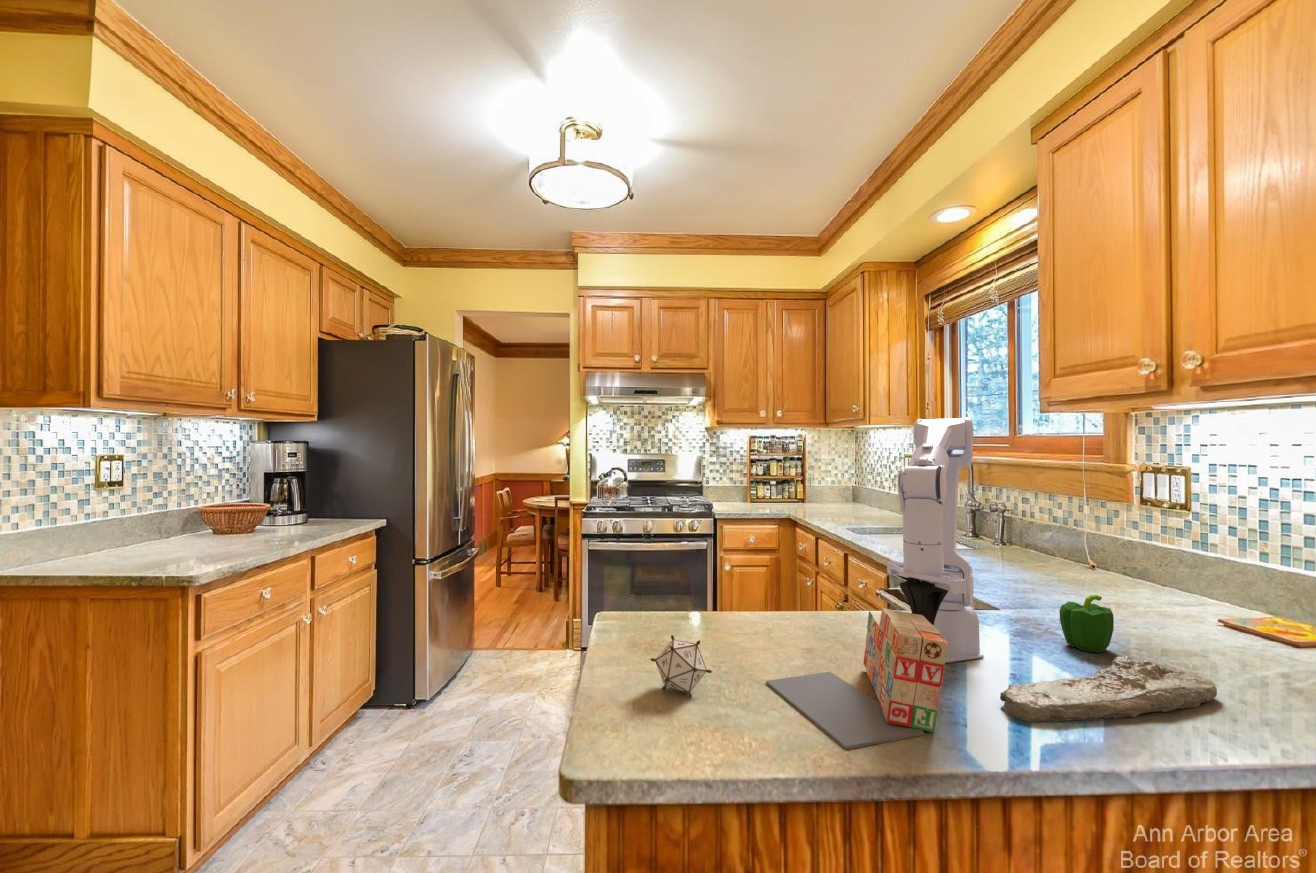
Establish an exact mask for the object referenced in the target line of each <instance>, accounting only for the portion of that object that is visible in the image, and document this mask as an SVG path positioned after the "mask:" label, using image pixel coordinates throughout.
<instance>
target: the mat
mask: <svg viewBox="0 0 1316 873" xmlns="http://www.w3.org/2000/svg"><path fill="white" fill-rule="evenodd" d="M765 683H766V685H767V686H768V687H769V688H771V689H772V690H773V691H774V692H776V693H777V694H778V695H780V696H781V697H782V698H783V699H784V700H786V702H787V703H790V704H791V706H793V707H794V708H795V709H796V710H798V711H799V712H800V713H801V714H802V715H804V716H805V717H806V718H807V719H809V721H811V722H812V723H813V724H815V725H816V727H818V728H819V729H820V730H822V731H823V732H824V733H825V734H826V735H828V736H829V737H830V738H832V740H834V741H835V742H836V743H837V744H839V745H840V746H841V747H842V748H844V750H846V751H847V750H851V749H856V748H862V747H867V746H873V745H878V744H883V743H888V742H893V741H897V740H898V741H899V740H904V739H909V738H914V737H919V736H920V737H921V736H924V735H925V732H924V731H925V730H921V729H917V728H913V727H907V726H903V725H898V724H894V723H889V722H887V721H886V719H885V717H884V714H883V711H882V709H881V706H880V704H879V701H877V700H876V699H873V698H872V697H871V696H869V695H867V694H866V693H864V692H863V691H861V690H859V689H858V688H857V687H855V686H854V685H852V684H850V683H848V682H847V681H846V680H844V679H842V678H841V677H839V676H838V675H836V674H834V673H833V672H831V671H826V672H818V673H811V674H805V675H804V674H803V675H798V676H797V675H796V676H791V677H783V678H776V679H770V680H765Z"/></svg>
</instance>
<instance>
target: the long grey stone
mask: <svg viewBox="0 0 1316 873" xmlns="http://www.w3.org/2000/svg"><path fill="white" fill-rule="evenodd" d="M999 695H1000V696H999V699H1000V701H1001V702H1003V710H1004V711H1005V712H1006V713H1007V714H1008V715H1011V717H1013V718H1015V719H1018V720H1022V721H1024V722H1028V723H1042V722H1051V721H1056V722H1062V721H1065V722H1067V721H1069V720H1070V721H1078V720H1079V721H1081V720H1088V721H1098V720H1099V719H1102V718H1103V719H1110V718H1112V719H1118V718H1127V717H1128V718H1129V717H1130V718H1136V717H1138V716H1139V715H1141V714H1145V713H1146V714H1147V713H1152V712H1153V713H1157V712H1161V713H1167V712H1173V711H1175V710H1177V709H1182V710H1183V709H1189V708H1198V707H1200V706H1201V704H1202V703H1204V704H1205V703H1208V702H1211V701H1212V700H1213V699H1214V698H1216V697H1217V695H1218V689H1217V686H1216V684H1215V683H1214V682H1213V681H1212V680H1210V679H1209V678H1207V677H1205V676H1202V675H1200V674H1197V673H1194V672H1189V671H1185V670H1179V669H1177V670H1176V669H1173V668H1169V667H1167V666H1165V665H1162V664H1160V663H1158V662H1152V661H1150V660H1147V659H1146V660H1145V659H1144V660H1141V661H1140V660H1136V659H1135V660H1133V659H1131V657H1129V655H1125V656H1116V657H1114V659H1113V660H1112V665H1110V666H1109V667H1107V668H1102V669H1099V670H1097V671H1096V672H1095V673H1094V675H1092V676H1084V677H1069V678H1059V679H1055V680H1049V681H1047V680H1045V681H1039V682H1029V683H1025V684H1009V685H1008V688H1006V689H1005V690H1003V691H1002V692H1000V694H999Z"/></svg>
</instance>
